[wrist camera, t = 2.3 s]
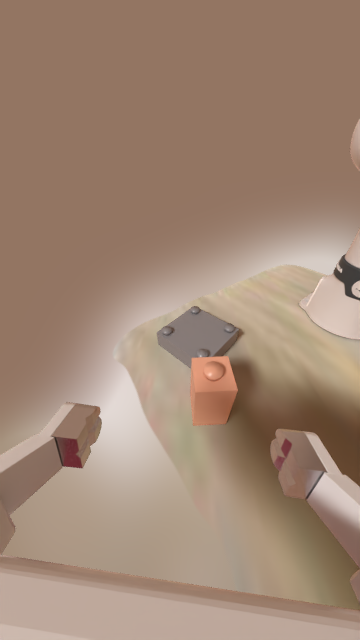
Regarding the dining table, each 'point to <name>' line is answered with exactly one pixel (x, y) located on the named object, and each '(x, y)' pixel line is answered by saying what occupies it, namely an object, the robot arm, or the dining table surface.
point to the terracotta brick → (212, 390)
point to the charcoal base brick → (197, 336)
